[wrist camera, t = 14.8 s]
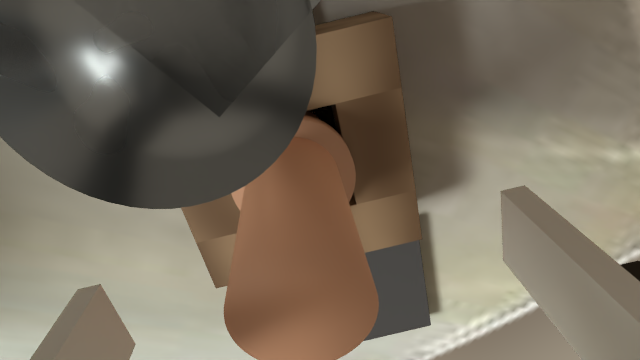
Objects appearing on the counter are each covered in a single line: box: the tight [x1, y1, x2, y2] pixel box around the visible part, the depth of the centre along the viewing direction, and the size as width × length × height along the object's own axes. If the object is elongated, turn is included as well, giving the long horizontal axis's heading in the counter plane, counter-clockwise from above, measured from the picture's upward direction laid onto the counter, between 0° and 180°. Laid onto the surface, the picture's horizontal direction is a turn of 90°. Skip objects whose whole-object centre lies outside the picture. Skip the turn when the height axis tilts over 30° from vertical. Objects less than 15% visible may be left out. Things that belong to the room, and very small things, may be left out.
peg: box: [224, 111, 379, 360], centre depth 18 cm, size 6×6×14 cm
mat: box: [363, 240, 431, 341], centre depth 29 cm, size 9×9×1 cm
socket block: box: [181, 11, 422, 288], centre depth 16 cm, size 12×16×15 cm
